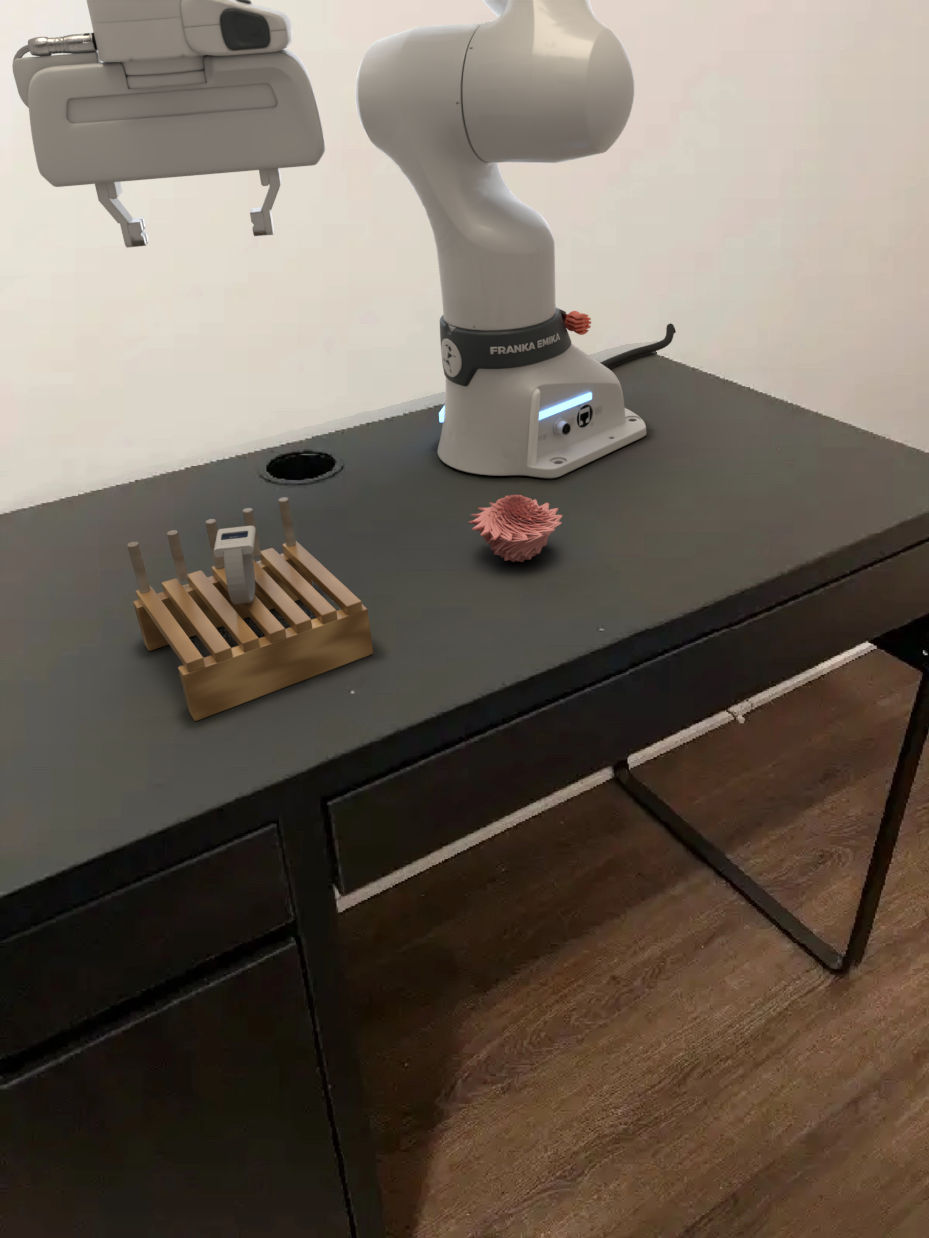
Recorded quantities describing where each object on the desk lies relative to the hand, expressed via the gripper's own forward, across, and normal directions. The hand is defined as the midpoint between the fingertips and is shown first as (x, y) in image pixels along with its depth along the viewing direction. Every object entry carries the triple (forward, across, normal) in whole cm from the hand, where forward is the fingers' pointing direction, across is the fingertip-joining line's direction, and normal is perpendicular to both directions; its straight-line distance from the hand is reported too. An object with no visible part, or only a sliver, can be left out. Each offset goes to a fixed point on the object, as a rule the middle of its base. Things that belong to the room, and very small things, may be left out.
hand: (201, 240), depth 77 cm
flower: (+27, +22, -5) cm, 36 cm away
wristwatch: (+22, +1, -15) cm, 27 cm away
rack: (+27, 0, -15) cm, 31 cm away
